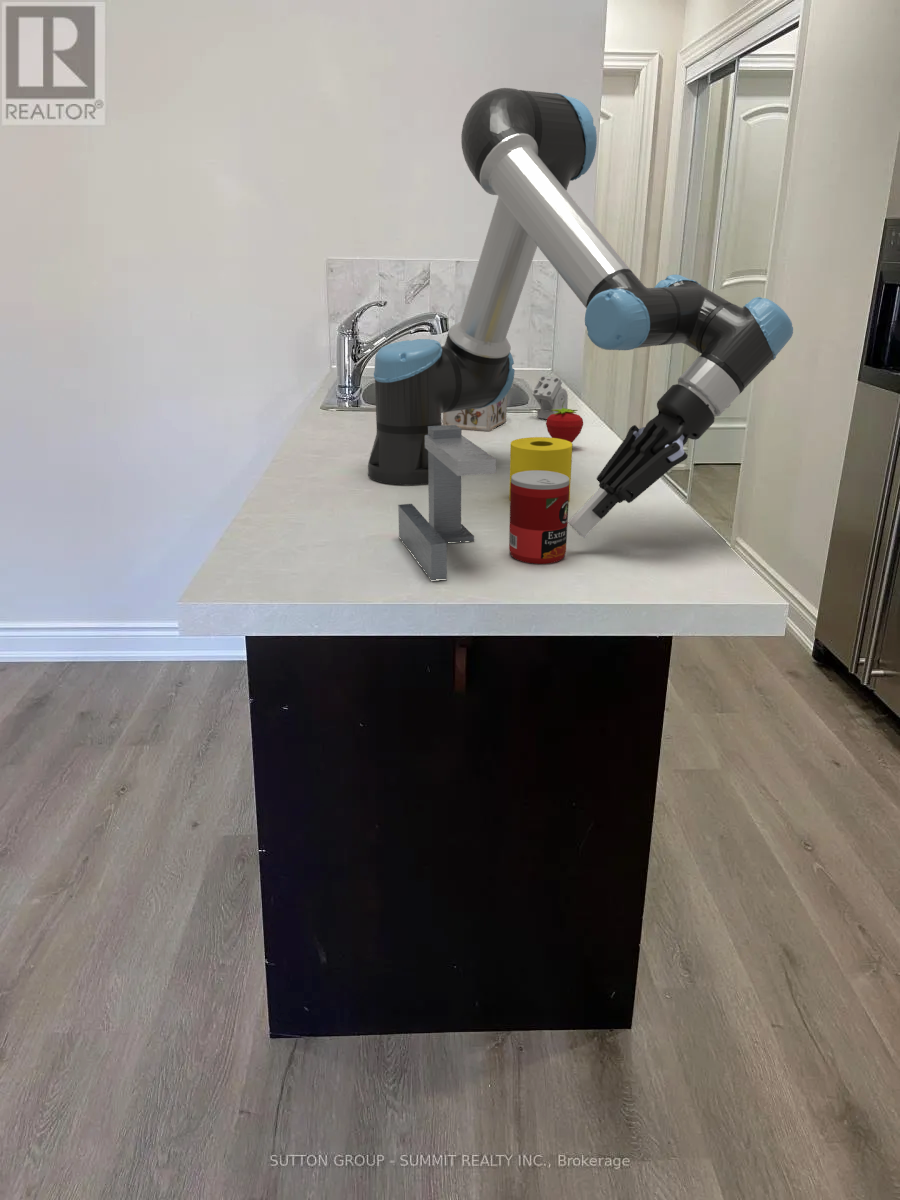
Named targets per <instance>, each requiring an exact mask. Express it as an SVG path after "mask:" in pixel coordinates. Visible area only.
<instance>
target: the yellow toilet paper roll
mask: <svg viewBox="0 0 900 1200" xmlns="http://www.w3.org/2000/svg"><path fill="white" fill-rule="evenodd" d="M509 456H510V457H509V458H510V459H509V487H508V488H509V490H508V491H509V492H508V493H509V494H508V495H509V497H508V498H509V499H508V501H510V488H511V477H512V475H513V474H515V473H518V472H523V471H533V470H540V471H552V472H557V473H561V474H564V475H566V476H568V477H569V482H570V485H569V503H570V502H571V500H570V499H571V485H572V484H571V482H572V481H571V480H572V462H573V461H572V459H573V442H572V443H571V442H569V441H567V440H563V439H558V438H552V437H547V436H546V437H545V436H544V437H543V436H534V437H530V436H529V437H522V438H517V439H514V440H511V442H510V455H509Z"/></svg>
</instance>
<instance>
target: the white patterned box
mask: <svg viewBox="0 0 900 1200" xmlns="http://www.w3.org/2000/svg"><path fill="white" fill-rule="evenodd" d="M507 405H508V394H507V395H506V396H505V397H504V398H503V399H502V400H501V401H499V402H498V403H496V404H493V405H489V406H486V407H483V408H480V409H465V410H459V411H452V412H445V413H442V425H457V426H458V427H459V428H461V429H462V430H463V429H465V430H464V431H477V432H491V431H492V429H493V430H494V429H496V428H498V427H500V426H501V425H504V424H505V423H507V409H508V408H507ZM503 423H504V424H503ZM499 425H500V426H499ZM497 426H498V427H497ZM495 427H496V428H495Z"/></svg>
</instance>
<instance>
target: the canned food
mask: <svg viewBox="0 0 900 1200" xmlns="http://www.w3.org/2000/svg"><path fill="white" fill-rule="evenodd" d="M569 485H570V486H571V484H570V482H569V477H568V476H566V475H564V474H561V473H557V472H552V471H540V470H533V471H523V472H518V473H515V474H513V475H512V477H511V488H510V500H509V534H508V535H509V538H508V539H509V542H508V544H509V545H508V549H509V554H510V555H511V557H512V558H514V559H515V560H517V561H519V562H522V563H526V564H532V563H533V565H536V564H537V565H547V564H549V565H550V564H554V563H557V562H559V561H561V560H564V558H565V556H566V552H567V541H568V525H569V524H568V522H569V507H570V506H569V505H570V502H569Z"/></svg>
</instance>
